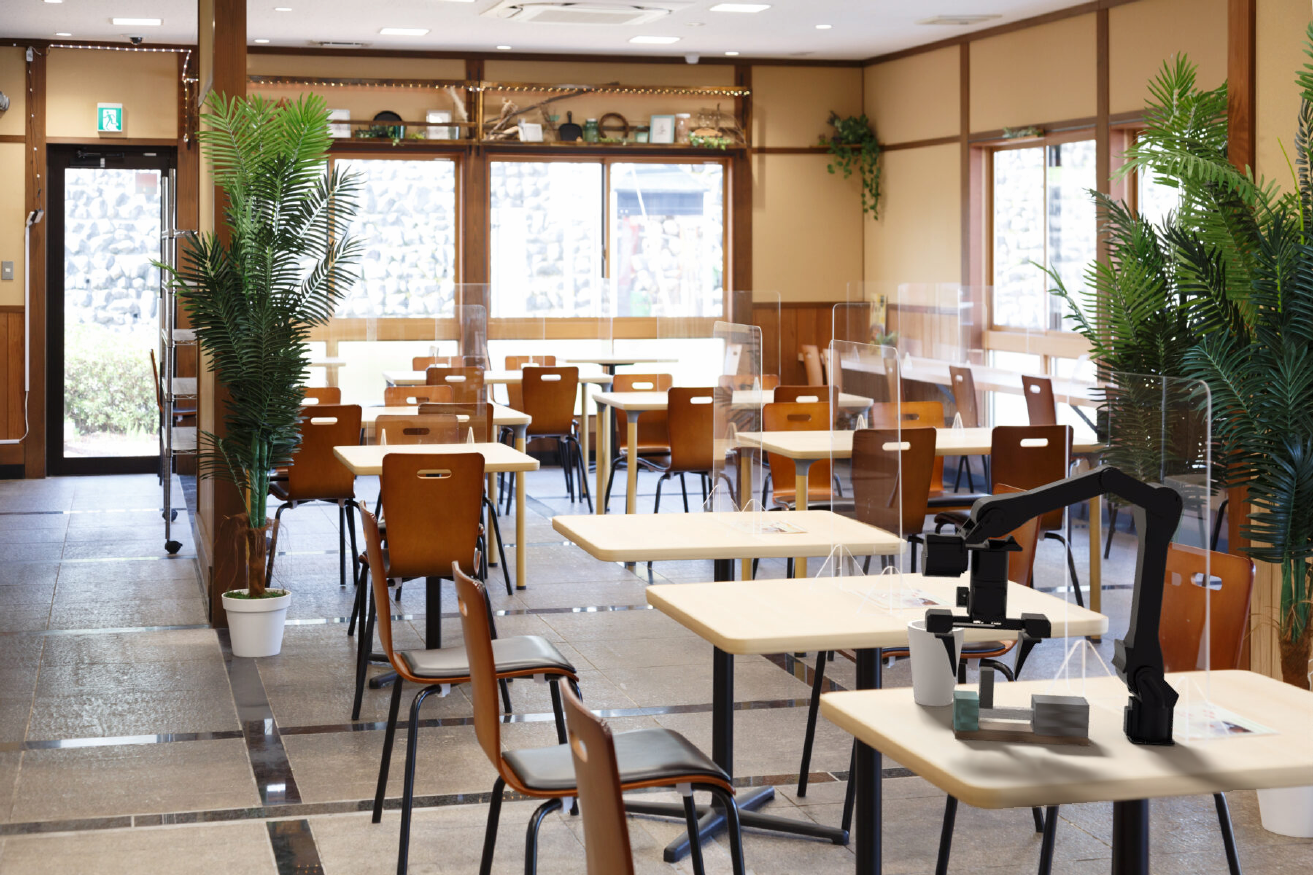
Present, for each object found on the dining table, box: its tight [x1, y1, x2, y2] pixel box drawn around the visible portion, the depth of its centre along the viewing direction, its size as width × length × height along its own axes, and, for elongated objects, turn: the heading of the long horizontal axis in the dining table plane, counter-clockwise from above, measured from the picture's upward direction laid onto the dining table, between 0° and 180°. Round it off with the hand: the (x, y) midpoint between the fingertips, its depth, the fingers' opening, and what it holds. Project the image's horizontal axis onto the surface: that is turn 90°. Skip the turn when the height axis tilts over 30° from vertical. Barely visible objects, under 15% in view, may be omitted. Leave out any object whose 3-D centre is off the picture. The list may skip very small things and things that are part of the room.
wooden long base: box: [951, 689, 1090, 747], centre depth 222 cm, size 20×7×6 cm, turn 83°
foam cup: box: [906, 619, 965, 707], centre depth 241 cm, size 10×9×13 cm
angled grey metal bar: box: [978, 666, 1034, 721], centre depth 222 cm, size 13×2×8 cm, turn 83°
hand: (984, 677), depth 222 cm, fingers open, 9 cm apart
